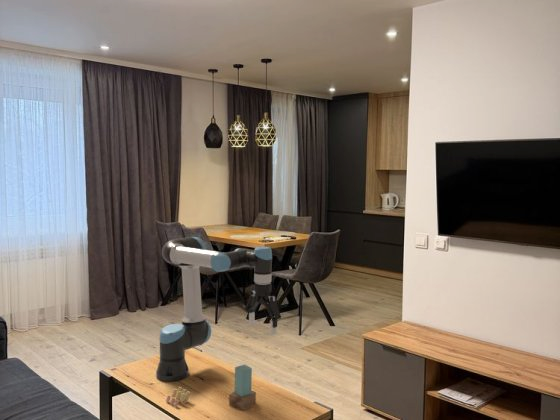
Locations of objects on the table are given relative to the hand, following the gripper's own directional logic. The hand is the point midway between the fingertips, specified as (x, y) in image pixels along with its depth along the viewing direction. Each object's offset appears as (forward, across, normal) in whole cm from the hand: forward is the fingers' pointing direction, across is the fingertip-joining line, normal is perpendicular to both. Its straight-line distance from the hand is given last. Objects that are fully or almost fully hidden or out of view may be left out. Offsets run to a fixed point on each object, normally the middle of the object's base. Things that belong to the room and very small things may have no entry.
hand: (262, 330), depth 213 cm
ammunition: (+29, +19, +30) cm, 46 cm away
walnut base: (+29, -1, +12) cm, 31 cm away
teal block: (+24, -1, +12) cm, 27 cm away
